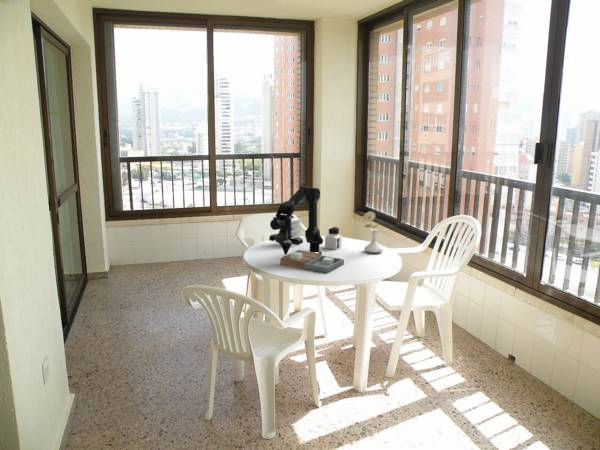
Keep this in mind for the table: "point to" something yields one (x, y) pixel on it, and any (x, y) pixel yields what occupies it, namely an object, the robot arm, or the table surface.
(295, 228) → the supplement box
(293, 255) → the tile
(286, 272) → the table surface
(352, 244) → the table surface
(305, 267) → the box
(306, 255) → the tan bevelled block
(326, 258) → the tile
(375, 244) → the flower in vase
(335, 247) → the container
